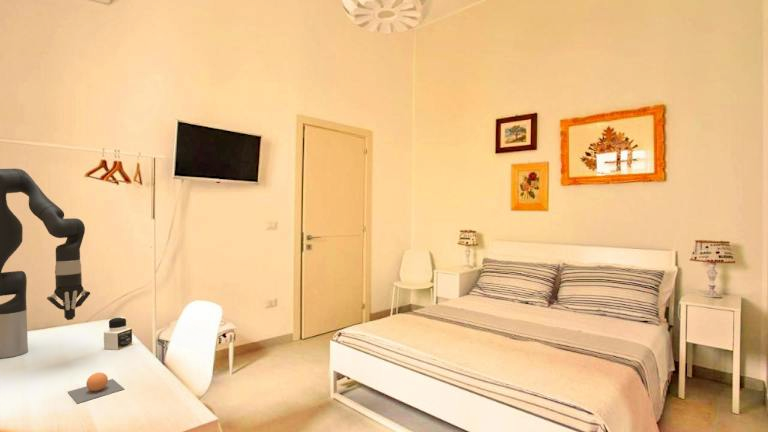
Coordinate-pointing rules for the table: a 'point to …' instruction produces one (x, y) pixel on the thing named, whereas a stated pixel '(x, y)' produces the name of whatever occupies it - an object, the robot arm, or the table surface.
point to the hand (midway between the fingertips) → (69, 319)
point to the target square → (94, 392)
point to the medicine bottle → (117, 334)
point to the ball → (97, 382)
